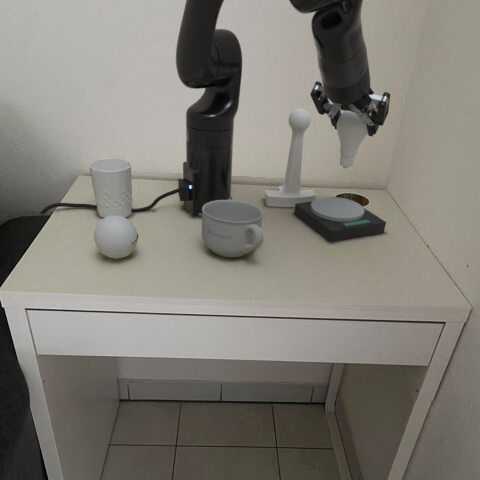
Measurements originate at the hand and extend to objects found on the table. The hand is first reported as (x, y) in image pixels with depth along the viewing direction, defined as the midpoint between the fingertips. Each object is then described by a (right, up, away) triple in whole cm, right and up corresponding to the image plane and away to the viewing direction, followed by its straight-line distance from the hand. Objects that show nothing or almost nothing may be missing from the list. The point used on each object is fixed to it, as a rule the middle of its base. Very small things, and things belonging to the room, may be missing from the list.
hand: (355, 128), depth 94 cm
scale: (-1, -16, +9) cm, 19 cm away
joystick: (-11, -9, +18) cm, 23 cm away
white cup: (-48, -15, +8) cm, 50 cm away
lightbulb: (-1, -7, +3) cm, 8 cm away
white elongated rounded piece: (-43, -24, -6) cm, 50 cm away
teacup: (-23, -24, -4) cm, 34 cm away
